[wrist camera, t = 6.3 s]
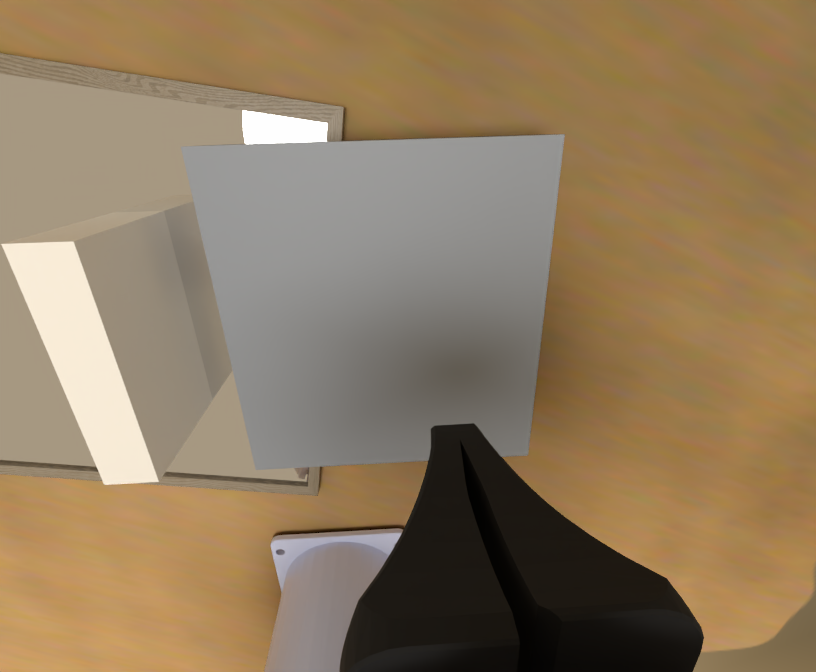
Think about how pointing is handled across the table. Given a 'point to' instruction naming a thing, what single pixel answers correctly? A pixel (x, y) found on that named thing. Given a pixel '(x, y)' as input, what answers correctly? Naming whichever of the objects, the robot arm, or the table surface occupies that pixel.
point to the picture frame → (125, 192)
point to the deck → (379, 289)
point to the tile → (117, 337)
